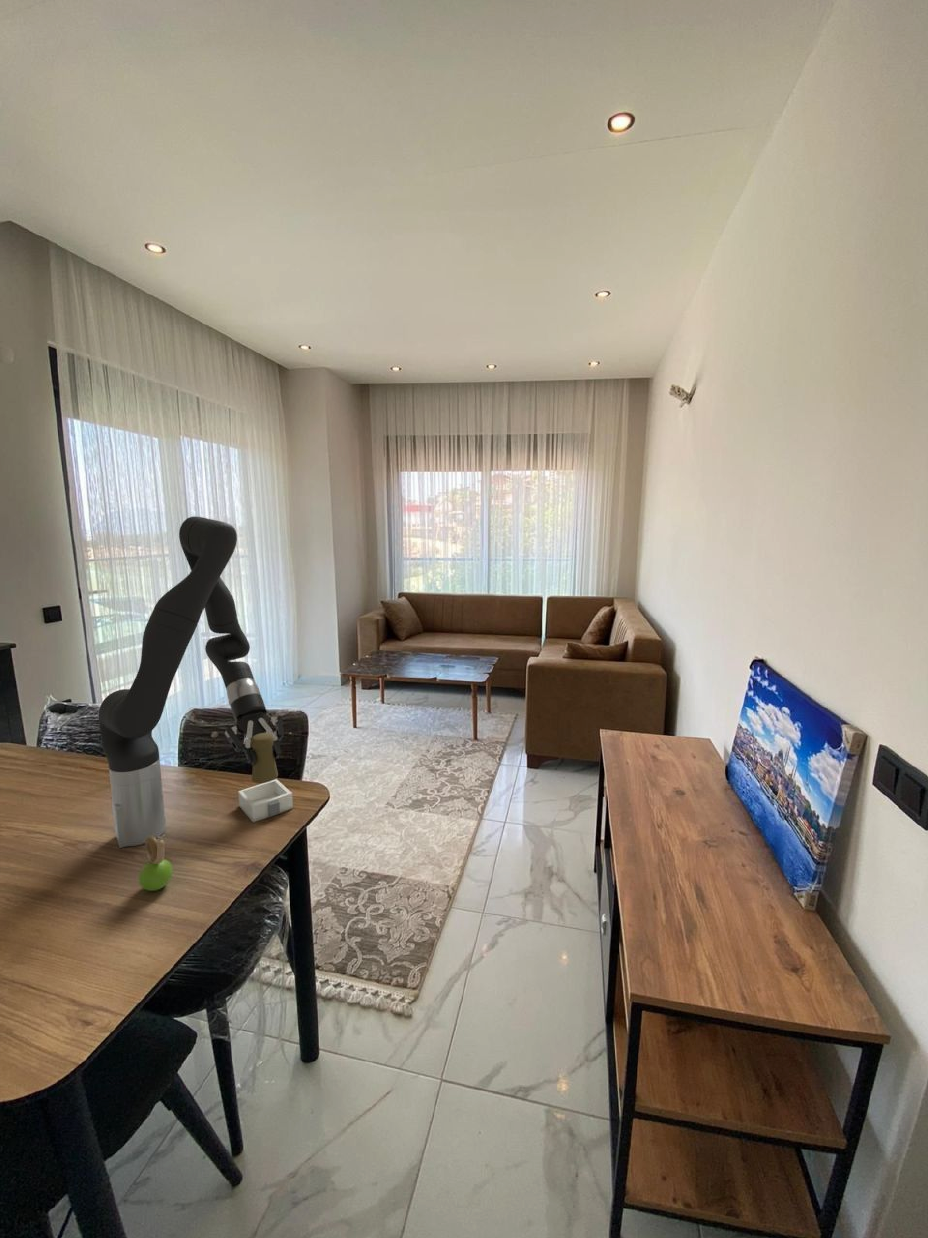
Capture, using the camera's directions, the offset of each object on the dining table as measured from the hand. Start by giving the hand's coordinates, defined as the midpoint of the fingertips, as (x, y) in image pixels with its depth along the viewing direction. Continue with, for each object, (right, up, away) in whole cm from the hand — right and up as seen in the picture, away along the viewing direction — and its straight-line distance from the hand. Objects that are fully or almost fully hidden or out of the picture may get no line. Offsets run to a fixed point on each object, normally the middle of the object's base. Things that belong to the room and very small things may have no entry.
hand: (266, 760), depth 118 cm
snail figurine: (-10, -18, -25) cm, 32 cm away
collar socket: (-1, -13, +3) cm, 13 cm away
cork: (-1, -5, +2) cm, 6 cm away
